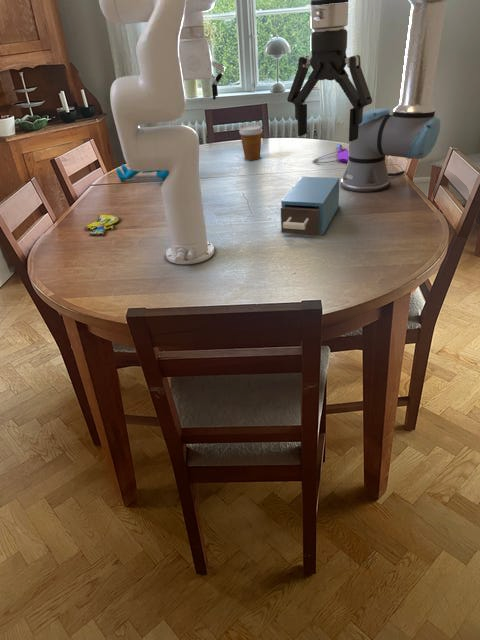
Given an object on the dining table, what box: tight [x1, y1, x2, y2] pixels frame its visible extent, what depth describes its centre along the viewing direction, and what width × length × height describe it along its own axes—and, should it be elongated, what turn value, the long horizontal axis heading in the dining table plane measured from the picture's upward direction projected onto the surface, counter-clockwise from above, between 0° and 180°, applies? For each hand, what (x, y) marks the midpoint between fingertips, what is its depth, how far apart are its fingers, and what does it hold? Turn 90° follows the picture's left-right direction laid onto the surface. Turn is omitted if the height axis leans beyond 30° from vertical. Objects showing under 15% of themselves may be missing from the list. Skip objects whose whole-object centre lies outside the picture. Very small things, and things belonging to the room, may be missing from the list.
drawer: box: [280, 205, 320, 236], centre depth 131 cm, size 26×10×7 cm, turn 159°
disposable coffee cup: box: [238, 124, 263, 161], centre depth 196 cm, size 10×10×12 cm
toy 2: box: [115, 164, 169, 182], centre depth 182 cm, size 17×11×30 cm
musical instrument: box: [313, 144, 349, 164], centre depth 191 cm, size 24×2×20 cm
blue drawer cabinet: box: [280, 176, 340, 236], centre depth 136 cm, size 22×11×9 cm, turn 159°
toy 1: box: [85, 214, 120, 236], centre depth 147 cm, size 10×1×15 cm
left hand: (198, 100), depth 144 cm, fingers open, 9 cm apart
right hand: (327, 137), depth 110 cm, fingers open, 13 cm apart
